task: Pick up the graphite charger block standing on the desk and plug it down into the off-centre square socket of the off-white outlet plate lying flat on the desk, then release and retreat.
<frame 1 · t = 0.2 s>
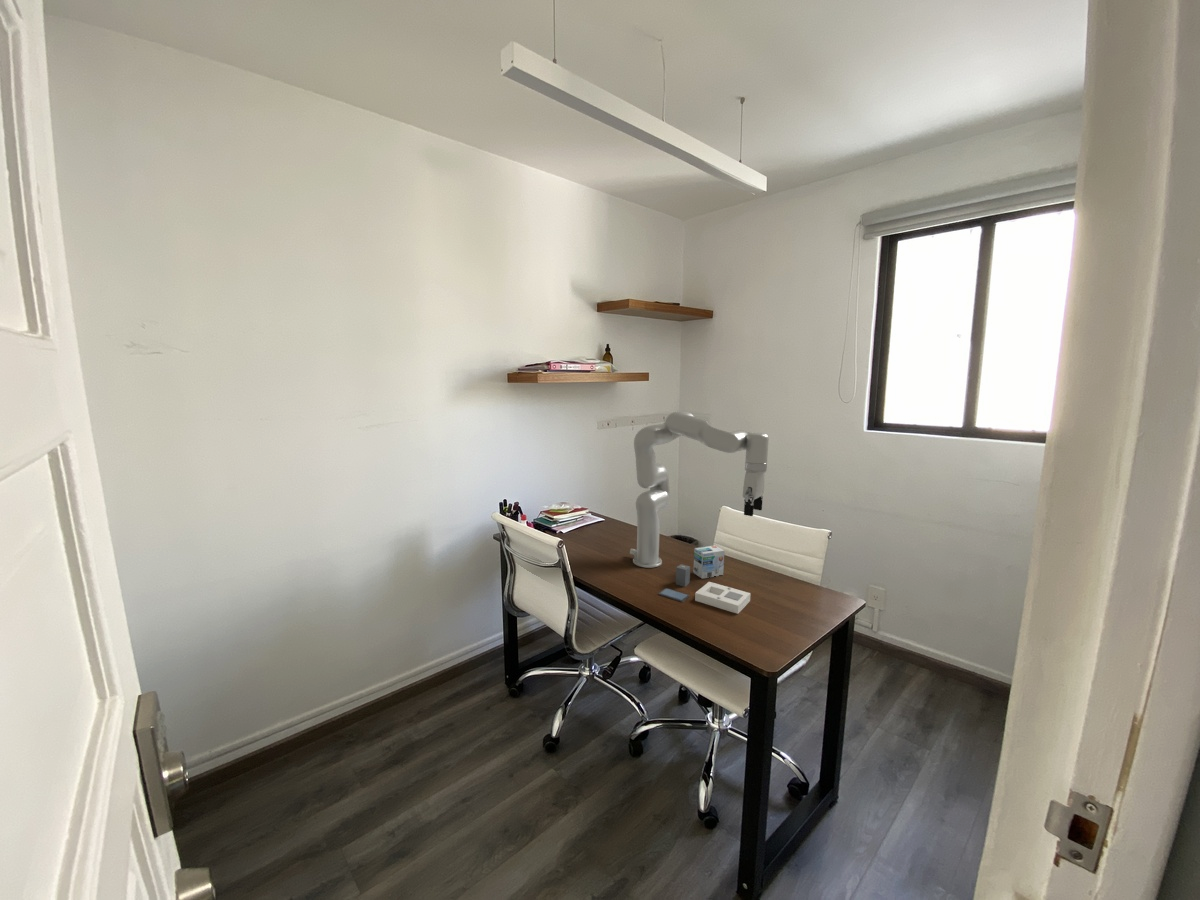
hand: (752, 512, 177), 31 cm above the table, fingers open, 9 cm apart
outlet plate: (722, 600, 173), on the table
phone: (673, 596, 177), on the table
charger: (682, 583, 187), on the table
light bulb box: (708, 574, 196), on the table
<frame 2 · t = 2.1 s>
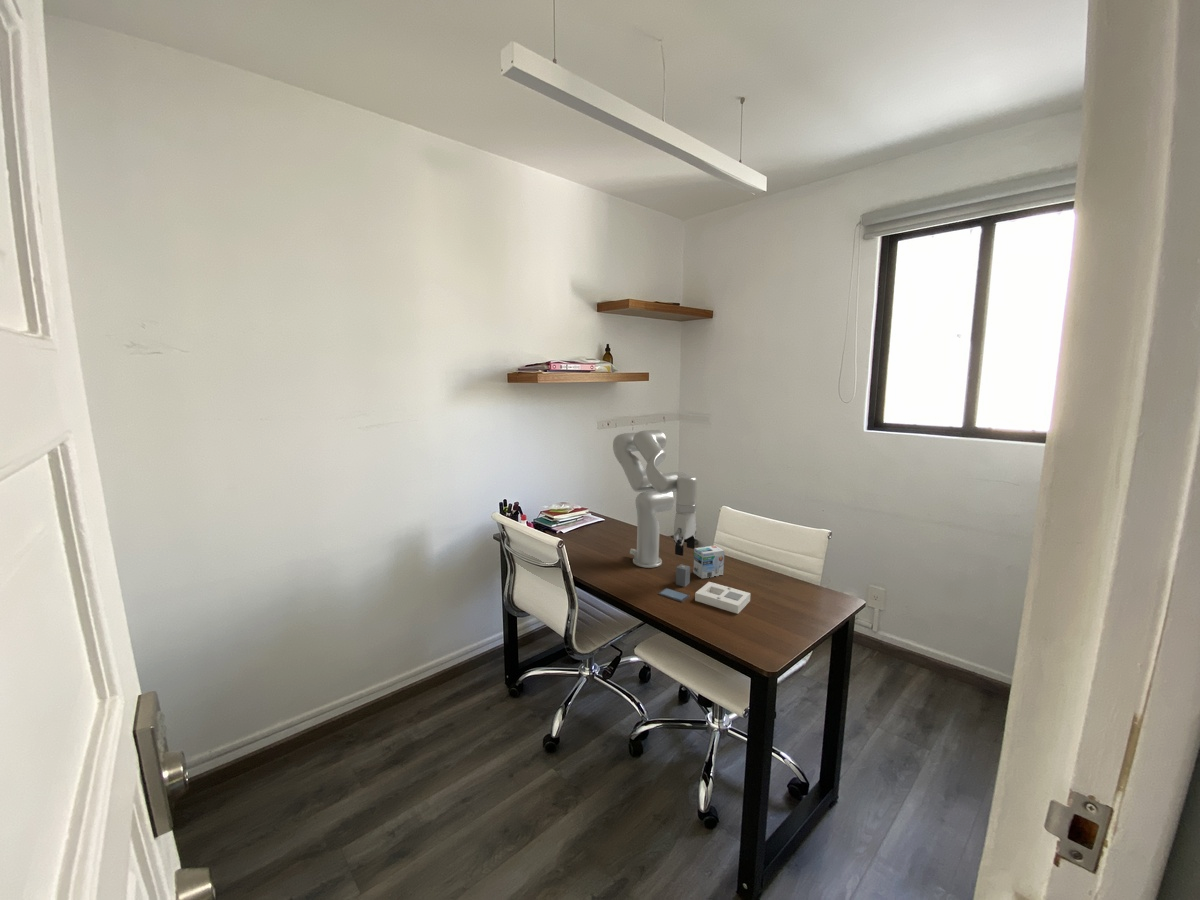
hand: (685, 551, 184), 13 cm above the table, fingers open, 9 cm apart
nothing on the table moved.
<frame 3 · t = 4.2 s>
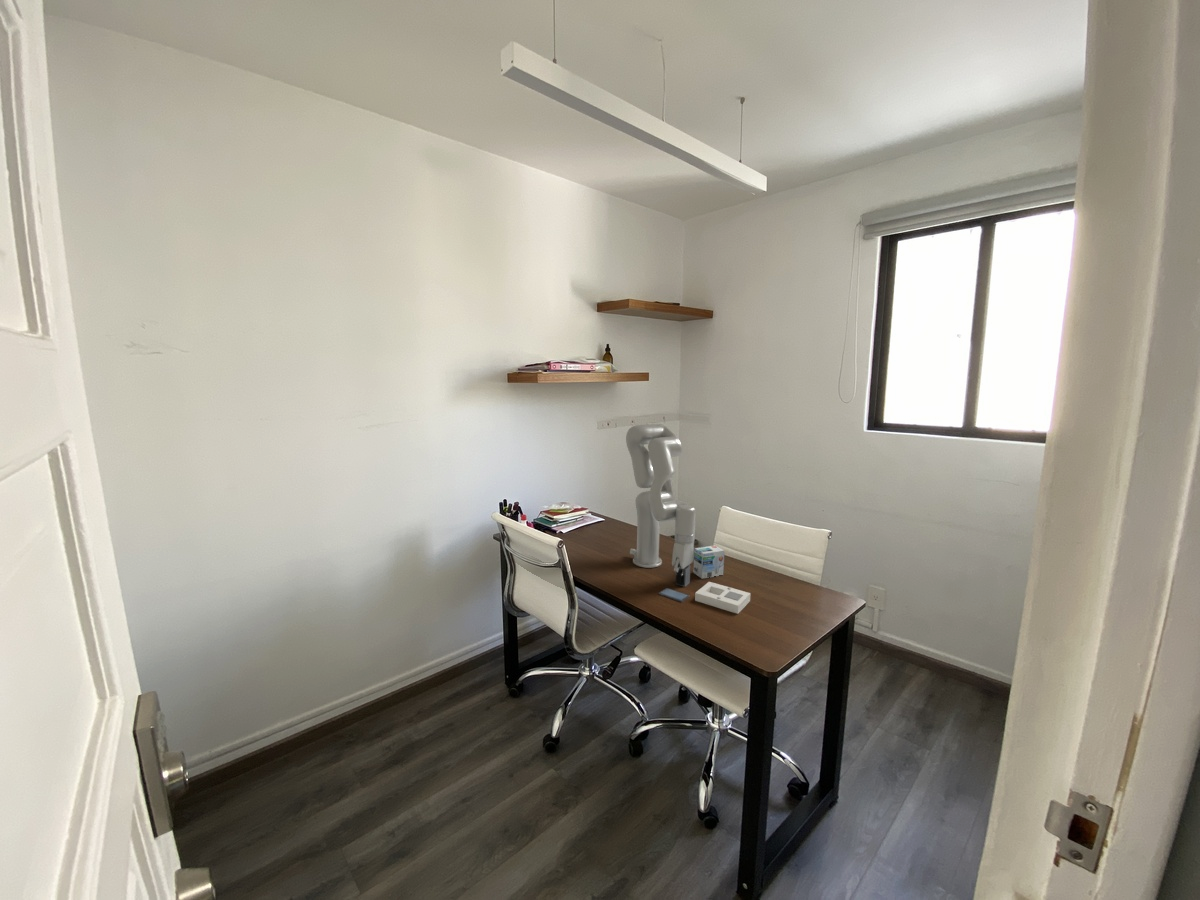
hand: (682, 581, 187), 1 cm above the table, fingers closed on charger, 4 cm apart
charger: (682, 583, 187), on the table, touching gripper
everything else where it was.
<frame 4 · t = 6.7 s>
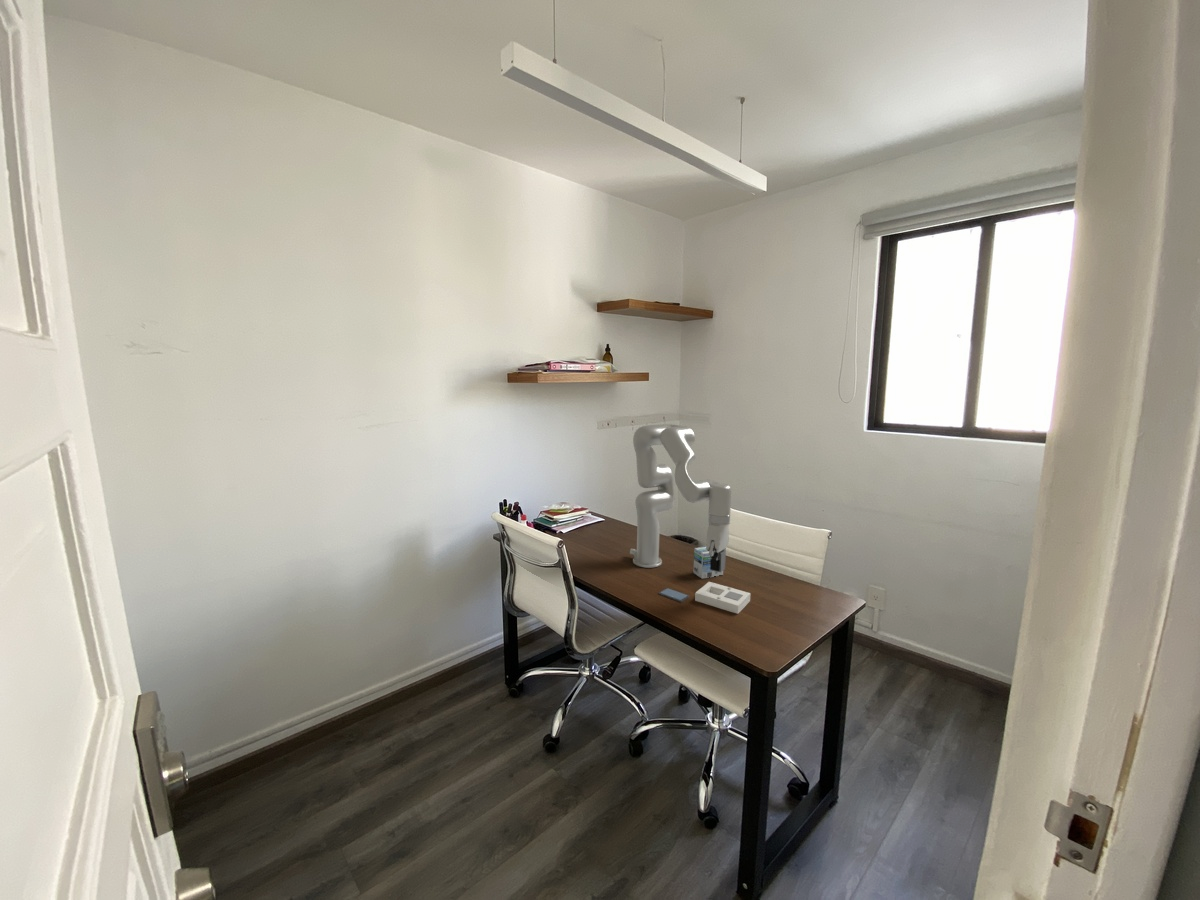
hand: (717, 567, 173), 12 cm above the table, fingers closed on charger, 4 cm apart
charger: (717, 569, 173), point 11 cm above the table, touching gripper
everything else where it was.
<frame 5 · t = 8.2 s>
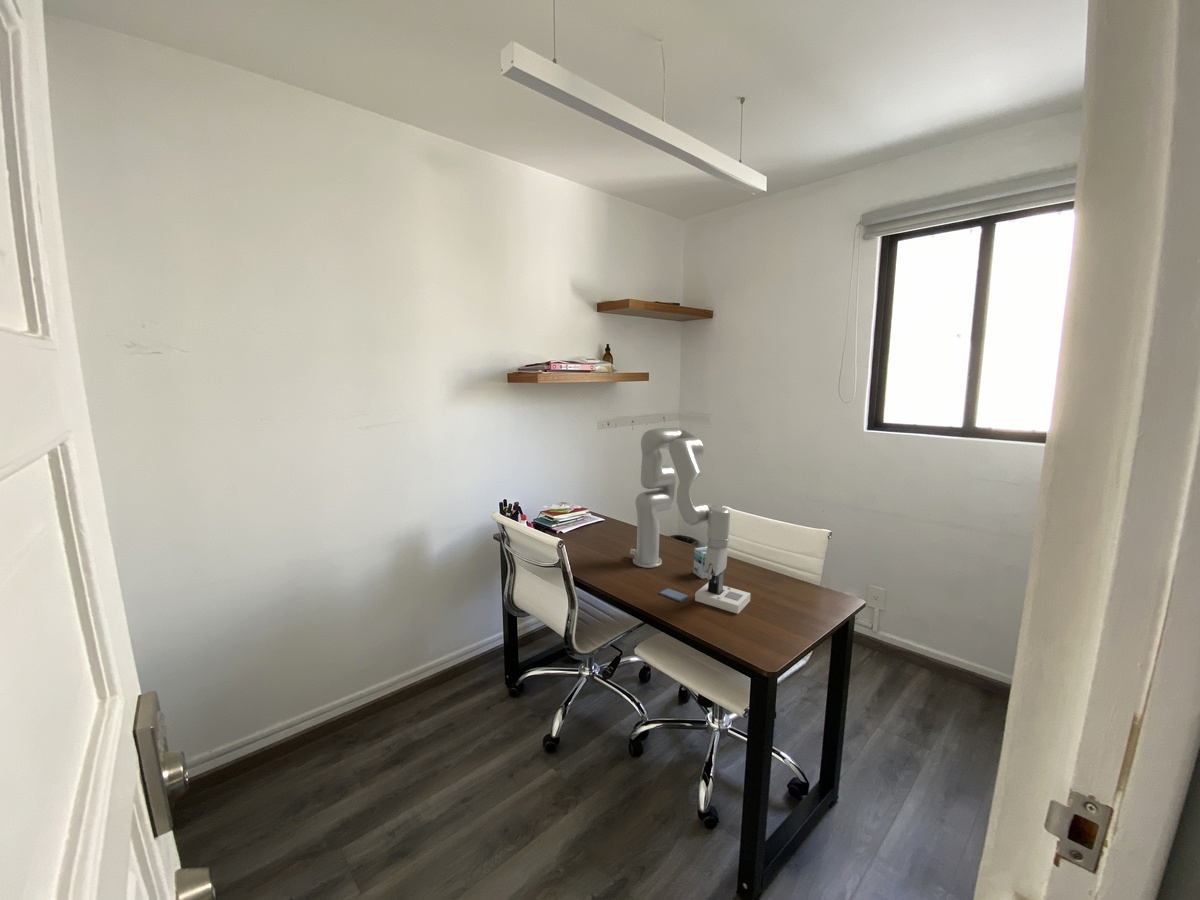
hand: (715, 589, 174), 3 cm above the table, fingers closed on charger, 4 cm apart
charger: (715, 591, 174), point 3 cm above the table, touching gripper
everything else where it was.
when the fingers open (3 cm above the table, at t = 9.2 s): charger drops 3 cm, resting in outlet plate.
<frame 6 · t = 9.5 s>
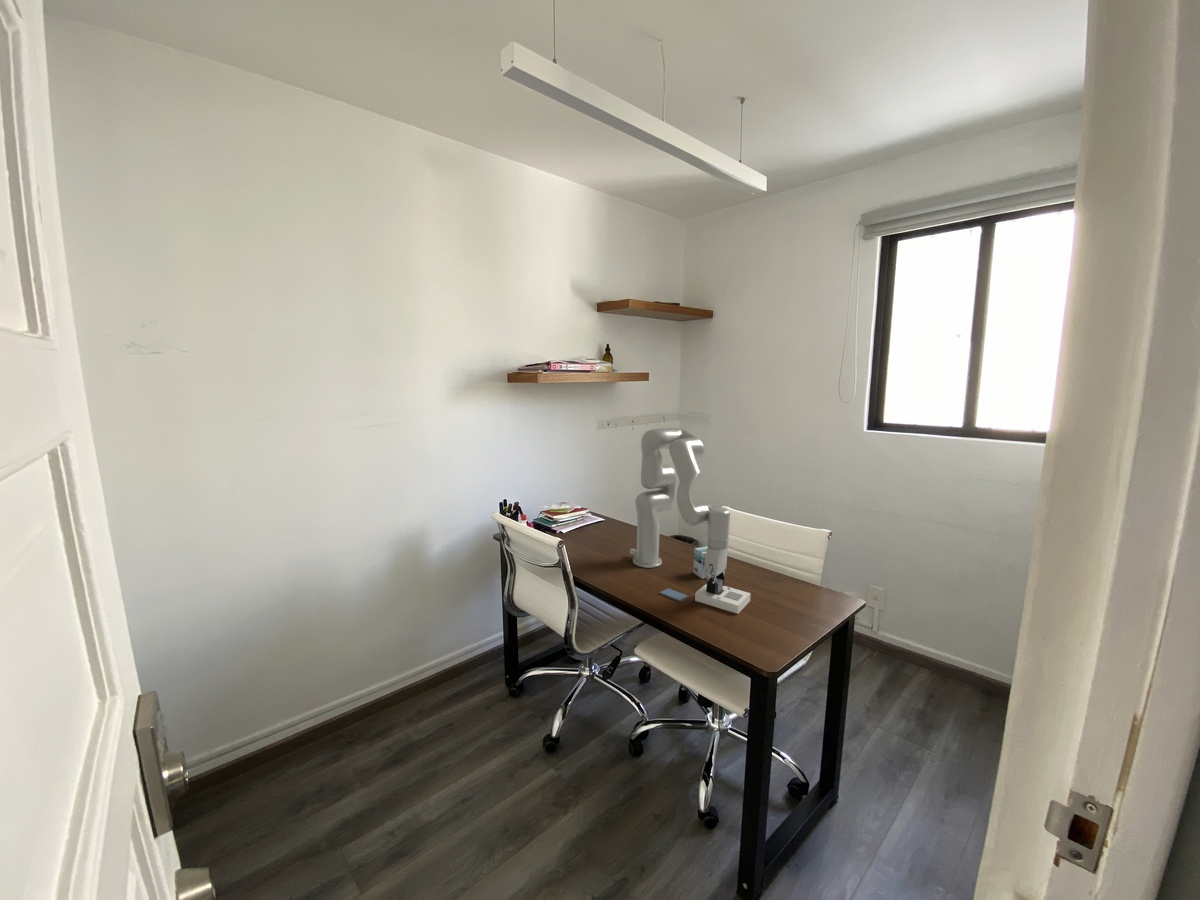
hand: (715, 588, 174), 4 cm above the table, fingers open, 7 cm apart
charger: (714, 598, 175), resting in outlet plate
everything else where it was.
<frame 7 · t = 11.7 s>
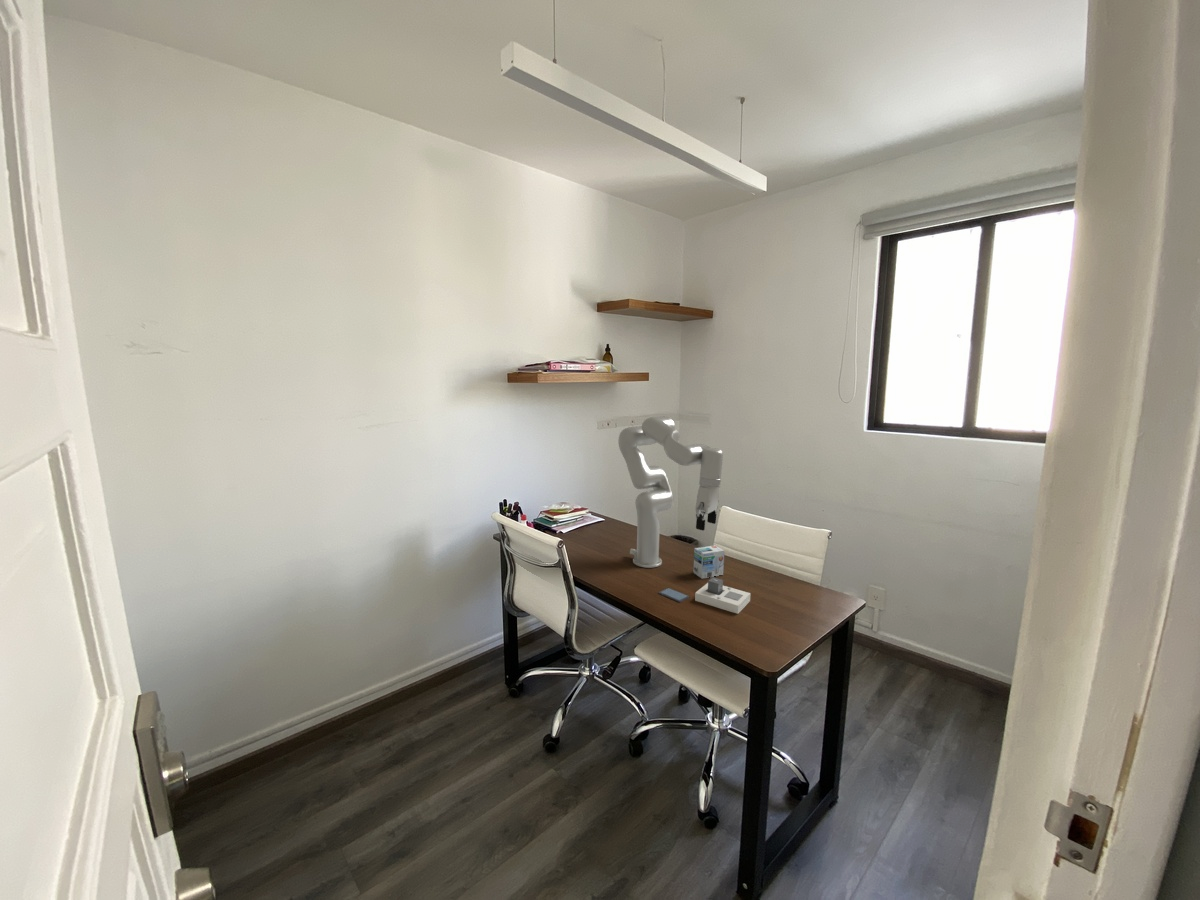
hand: (705, 526, 179), 25 cm above the table, fingers open, 9 cm apart
nothing on the table moved.
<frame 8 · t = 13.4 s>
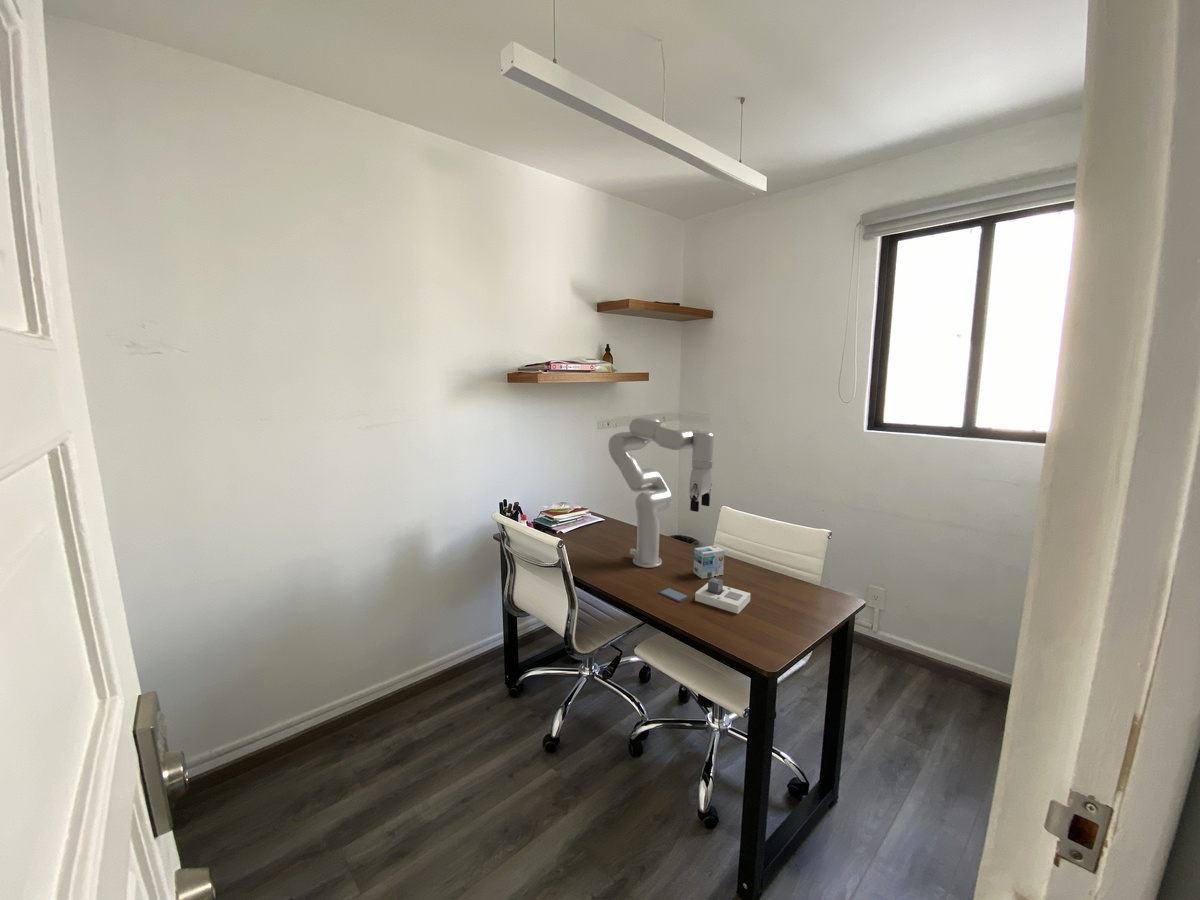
hand: (699, 508, 183), 30 cm above the table, fingers open, 9 cm apart
nothing on the table moved.
at the end: charger 0.0 cm from the target spot on the outlet plate, point 0.0 cm above the outlet plate's base; charger tilted 0°; the gripper is holding nothing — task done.
